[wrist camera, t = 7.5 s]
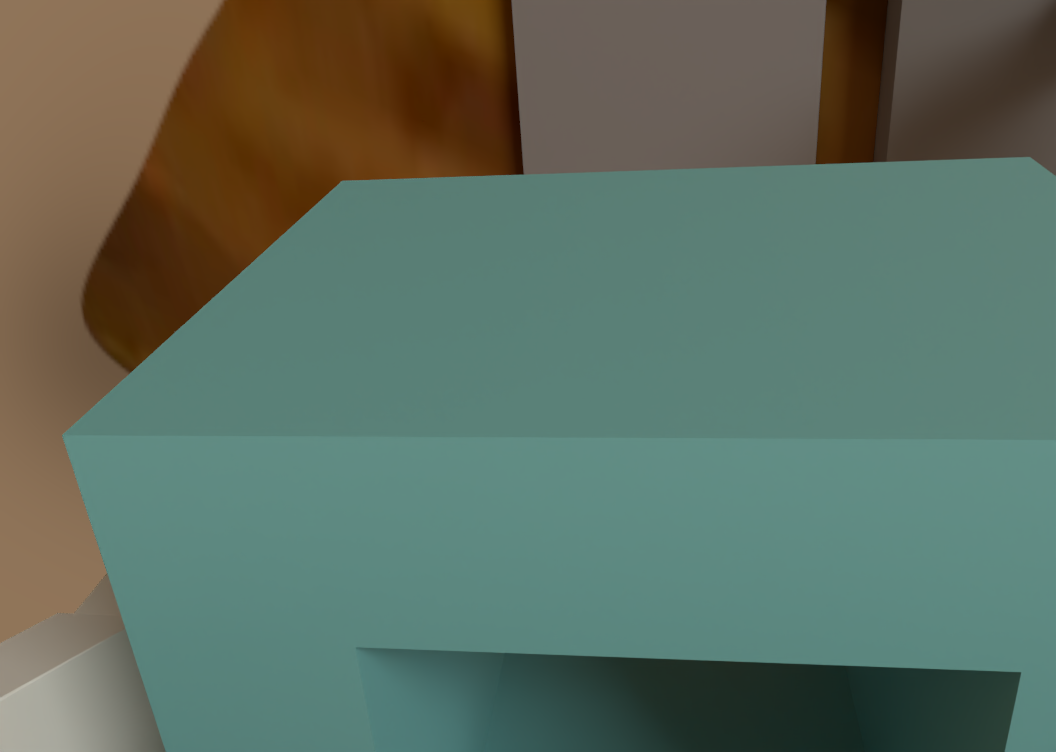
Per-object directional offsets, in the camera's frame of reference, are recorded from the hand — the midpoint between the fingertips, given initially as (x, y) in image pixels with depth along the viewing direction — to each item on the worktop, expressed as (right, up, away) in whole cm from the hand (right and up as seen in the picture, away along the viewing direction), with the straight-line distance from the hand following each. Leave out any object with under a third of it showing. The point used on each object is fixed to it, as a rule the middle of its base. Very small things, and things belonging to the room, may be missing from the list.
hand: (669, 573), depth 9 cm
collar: (0, +1, +2) cm, 2 cm away
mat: (+3, +12, +24) cm, 27 cm away
